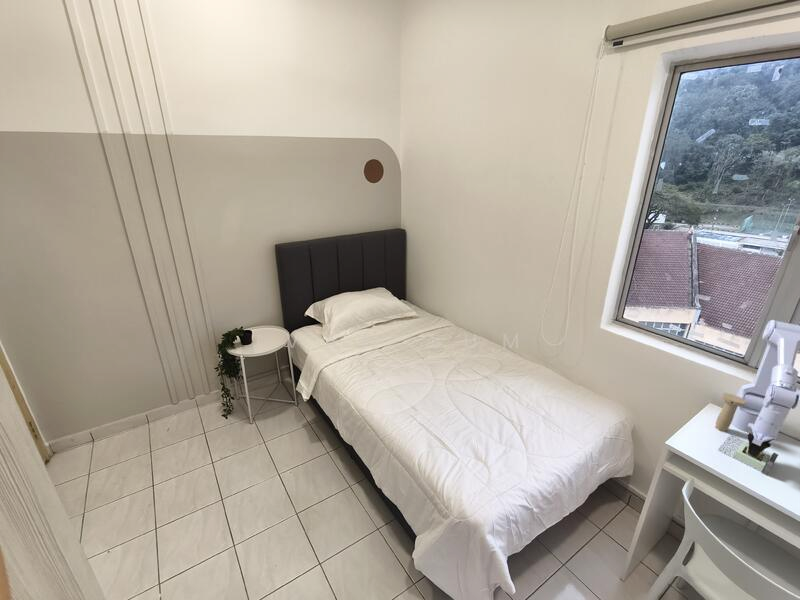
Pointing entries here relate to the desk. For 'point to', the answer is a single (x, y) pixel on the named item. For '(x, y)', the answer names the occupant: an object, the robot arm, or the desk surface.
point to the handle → (728, 411)
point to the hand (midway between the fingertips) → (753, 452)
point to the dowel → (753, 456)
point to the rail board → (769, 463)
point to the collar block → (751, 458)
